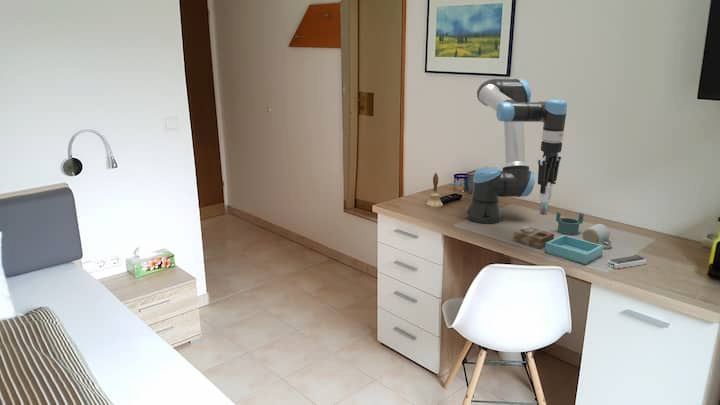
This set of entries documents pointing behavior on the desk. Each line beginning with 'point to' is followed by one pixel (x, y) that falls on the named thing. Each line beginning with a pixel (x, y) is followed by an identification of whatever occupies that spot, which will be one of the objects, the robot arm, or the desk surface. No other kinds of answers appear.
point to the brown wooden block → (533, 237)
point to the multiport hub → (627, 261)
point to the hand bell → (435, 195)
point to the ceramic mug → (597, 235)
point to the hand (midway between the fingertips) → (544, 200)
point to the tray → (574, 249)
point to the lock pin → (545, 204)
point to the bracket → (568, 224)
